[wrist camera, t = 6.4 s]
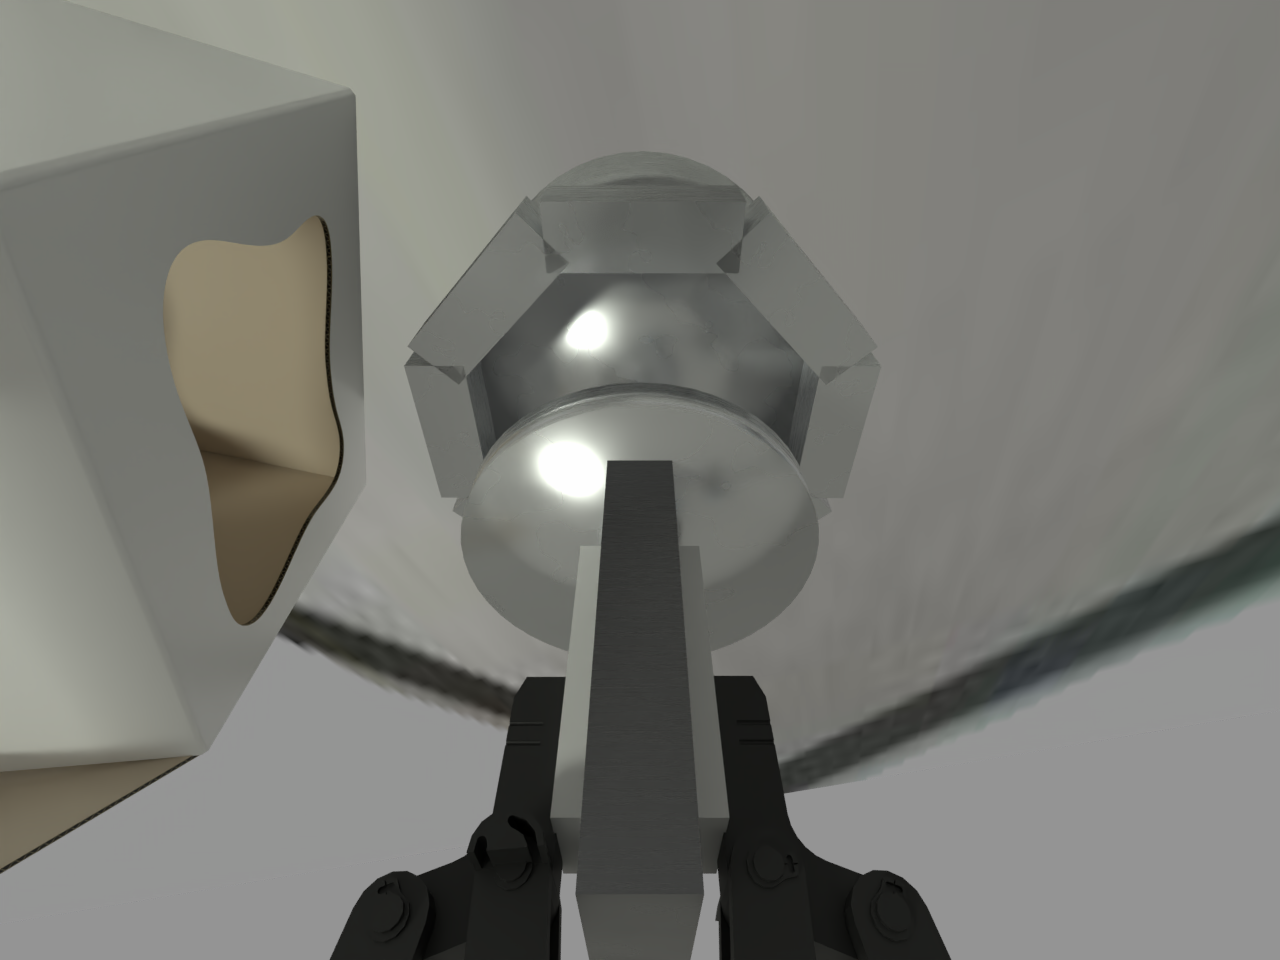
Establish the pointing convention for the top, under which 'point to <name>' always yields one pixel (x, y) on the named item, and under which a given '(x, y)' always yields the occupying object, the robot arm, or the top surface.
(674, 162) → the pot
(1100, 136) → the top surface
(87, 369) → the gable box
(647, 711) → the lid
